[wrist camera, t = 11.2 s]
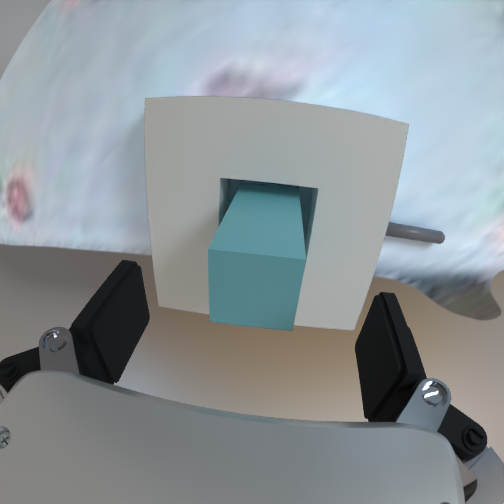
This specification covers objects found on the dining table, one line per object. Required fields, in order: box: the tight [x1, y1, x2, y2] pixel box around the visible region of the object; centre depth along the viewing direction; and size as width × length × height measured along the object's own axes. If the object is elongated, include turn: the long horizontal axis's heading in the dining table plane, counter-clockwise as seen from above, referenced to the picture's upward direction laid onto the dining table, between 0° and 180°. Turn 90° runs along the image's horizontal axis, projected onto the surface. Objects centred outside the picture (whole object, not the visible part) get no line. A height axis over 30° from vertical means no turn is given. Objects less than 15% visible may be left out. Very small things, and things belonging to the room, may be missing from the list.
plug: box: [208, 182, 306, 331], centre depth 17 cm, size 4×4×10 cm
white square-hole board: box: [145, 96, 445, 330], centre depth 20 cm, size 22×16×3 cm
